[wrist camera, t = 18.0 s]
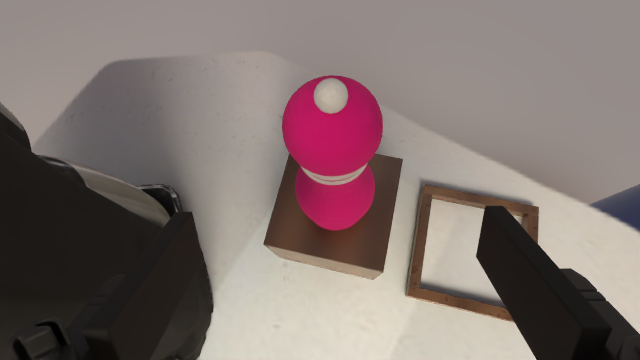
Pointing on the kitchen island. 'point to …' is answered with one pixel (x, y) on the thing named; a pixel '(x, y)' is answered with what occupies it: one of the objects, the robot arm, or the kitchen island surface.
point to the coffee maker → (80, 242)
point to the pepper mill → (333, 148)
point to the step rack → (376, 232)
